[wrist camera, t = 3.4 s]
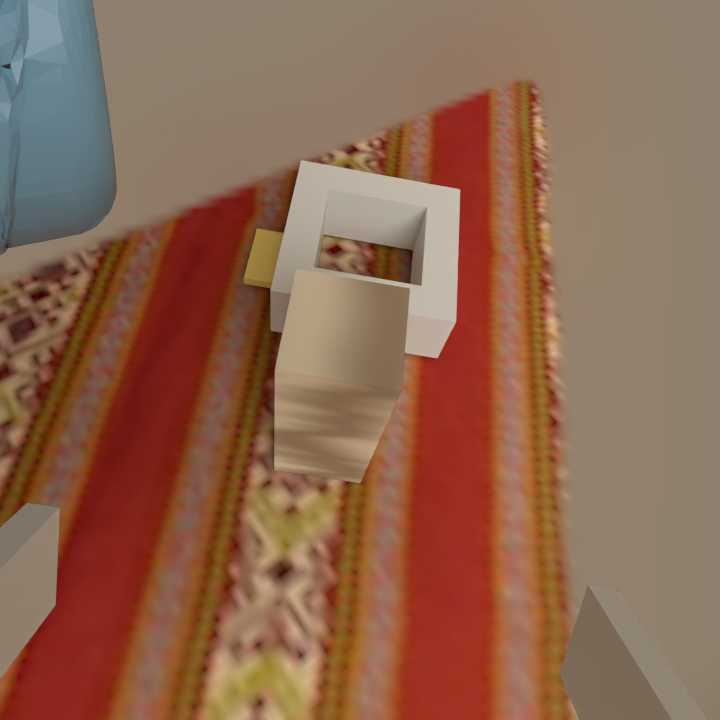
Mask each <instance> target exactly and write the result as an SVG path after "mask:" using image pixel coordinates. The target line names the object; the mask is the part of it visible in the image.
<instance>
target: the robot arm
mask: <svg viewBox="0 0 720 720" xmlns="http://www.w3.org/2000/svg"><path fill="white" fill-rule="evenodd" d="M116 188H117V186H116V172H115V162H114V152H113V145H112V136H111V128H110V121H109V113H108V105H107V97H106V90H105V83H104V77H103V70H102V63H101V56H100V48H99V41H98V34H97V28H96V23H95V15H94V9H93V3H92V0H0V255H1V254H3V253H4V252H5V251H6V250H7V248H11V247H16V246H21V245H26V244H31V243H36V242H42V241H47V240H52V239H57V238H62V237H67V236H72V235H77V234H81V233H84V232H86V231H88V230H91V229H92V228H94V227H96V226H97V225H98V224H99V223H100V222H101V221H102V220H103V219H104V218H105V216H106V215H107V214H108V213H109V212H110V210H111V208H112V206H113V203H114V200H115V196H116ZM59 515H60V508H58V507H51V506H44V505H38V504H31V503H27V504H25V505H24V506H23V507H22V508H21V509H20V510H19V511H18V512H17V513H16V514H14V515H13V516H12V517H11V518H10V519H9V520H8V521H7V522H6V523H5V524H4V525H2V526H1V527H0V679H1V678H2V676H3V675H4V673H5V672H6V671H7V669H8V668H9V667H10V665H11V664H12V663H13V661H14V660H15V659H16V657H17V656H18V655H19V653H20V652H21V651H22V649H23V648H24V647H25V645H26V644H27V643H28V641H29V640H30V639H31V637H32V636H33V635H34V633H35V632H36V630H37V629H38V628H39V626H40V625H41V624H42V622H43V621H44V620H45V618H46V617H47V616H48V614H49V613H50V612H51V610H52V609H53V608H54V606H55V605H56V584H57V561H58V538H59ZM559 674H560V677H561V679H562V681H563V683H564V686H565V688H566V690H567V692H568V695H569V697H570V699H571V701H572V704H573V706H574V708H575V710H576V713H577V715H578V717H579V719H580V720H707V719H706V717H705V716H704V714H703V713H702V711H701V710H700V708H699V707H698V706H697V704H696V703H695V701H694V700H693V698H692V697H691V696H690V694H689V693H688V691H687V690H686V688H685V687H684V685H683V684H682V682H681V681H680V680H679V678H678V677H677V675H676V674H675V672H674V671H673V670H672V668H671V667H670V665H669V664H668V662H667V661H666V659H665V658H664V657H663V655H662V654H661V652H660V651H659V649H658V648H657V646H656V645H655V644H654V642H653V641H652V639H651V638H650V637H649V635H648V633H647V632H646V630H645V629H644V628H643V626H642V625H641V624H640V622H639V620H638V619H637V618H636V616H635V615H634V613H633V612H632V610H631V609H630V607H629V606H628V604H627V603H626V602H625V600H624V599H623V597H622V596H621V594H620V593H619V592H618V590H617V589H610V588H603V587H596V586H589V585H588V587H587V590H586V593H585V596H584V599H583V603H582V606H581V609H580V612H579V615H578V618H577V621H576V624H575V627H574V630H573V633H572V636H571V639H570V642H569V645H568V649H567V652H566V655H565V658H564V661H563V664H562V667H561V670H560V673H559Z"/></svg>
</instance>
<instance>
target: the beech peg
mask: <svg viewBox="0 0 720 720" xmlns="http://www.w3.org/2000/svg"><path fill="white" fill-rule="evenodd" d="M409 296H410V288H405V287H399V286H393V285H387V284H382V283H376V282H370V281H364V280H358V279H353V278H347V277H341V276H335V275H329V274H324V273H318V272H312V271H306V270H301V269H296V273H295V277H294V282H293V287H292V291H291V296H290V301H289V305H288V310H287V315H286V320H285V324H284V329H283V334H282V338H281V343H280V348H279V352H278V357H277V362H276V366H275V419H274V470H277V471H284V472H290V473H297V474H304V475H310V476H317V477H324V478H330V479H337V480H344V481H350V482H357V483H360V482H361V480H362V478H363V475H364V473H365V471H366V469H367V467H368V464H369V462H370V460H371V458H372V455H373V453H374V451H375V449H376V446H377V444H378V442H379V440H380V438H381V435H382V433H383V431H384V429H385V426H386V424H387V422H388V420H389V417H390V415H391V413H392V411H393V408H394V406H395V404H396V402H397V400H398V397H399V395H400V393H401V391H402V381H403V369H404V357H405V344H406V332H407V320H408V308H409Z"/></svg>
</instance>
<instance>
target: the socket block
mask: <svg viewBox="0 0 720 720" xmlns="http://www.w3.org/2000/svg"><path fill="white" fill-rule="evenodd" d="M459 210H460V189H455V188H449V187H444V186H438V185H433V184H427V183H422V182H417V181H411V180H406V179H400V178H395V177H390V176H384V175H379V174H373V173H368V172H362V171H357V170H352V169H346V168H341V167H335V166H330V165H324V164H319V163H314V162H308V161H303V160H301V163H300V167H299V172H298V176H297V180H296V184H295V188H294V193H293V197H292V201H291V205H290V210H289V214H288V218H287V222H286V226H285V231H284V233H281V232H275V231H269V230H264V229H258V228H257V230H256V234H255V238H254V241H253V245H252V249H251V252H250V256H249V260H248V263H247V267H246V271H245V275H244V284H248V285H254V286H260V287H266V288H271V290H270V313H271V331H275V332H281V333H283V329H284V324H285V320H286V315H287V310H288V305H289V301H290V296H291V291H292V287H293V282H294V277H295V273H296V269H301V270H306V271H312V272H318V273H324V274H329V275H335V276H341V277H347V278H353V279H358V280H364V281H370V282H376V283H382V284H387V285H393V286H399V287H405V288H410V296H409V308H408V320H407V332H406V344H405V353H408V354H414V355H420V356H426V357H432V358H438V356H439V354H440V352H441V350H442V348H443V346H444V344H445V342H446V340H447V339H448V337H449V335H450V333H451V331H452V329H453V327H454V325H455V323H456V307H457V275H458V242H459ZM324 235H329V236H335V237H341V238H346V239H352V240H358V241H363V242H369V243H375V244H380V245H386V246H392V247H397V248H403V249H409V250H413V256H412V268H411V280H410V284H408V283H402V282H396V281H390V280H385V279H379V278H373V277H367V276H361V275H356V274H350V273H344V272H338V271H333V270H327V269H321V268H318V262H319V257H320V252H321V246H322V241H323V236H324Z"/></svg>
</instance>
